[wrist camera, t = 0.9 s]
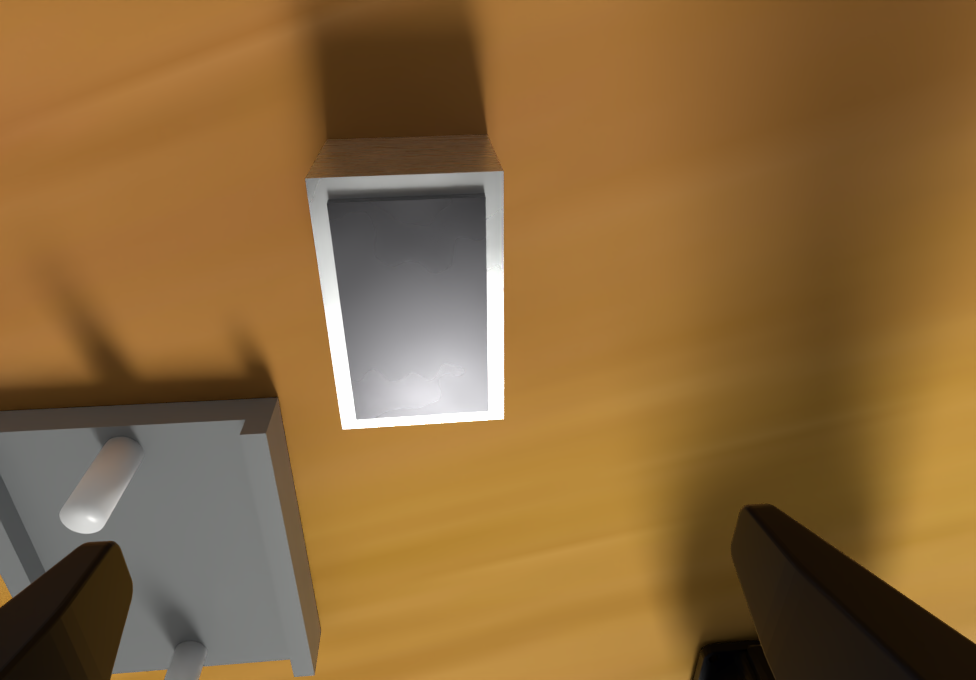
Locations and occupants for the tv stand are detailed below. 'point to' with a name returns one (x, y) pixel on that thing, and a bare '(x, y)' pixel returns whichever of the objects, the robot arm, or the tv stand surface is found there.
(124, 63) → the tv stand surface
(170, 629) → the tray
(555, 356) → the tv stand surface
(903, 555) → the tv stand surface
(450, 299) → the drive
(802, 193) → the tv stand surface
